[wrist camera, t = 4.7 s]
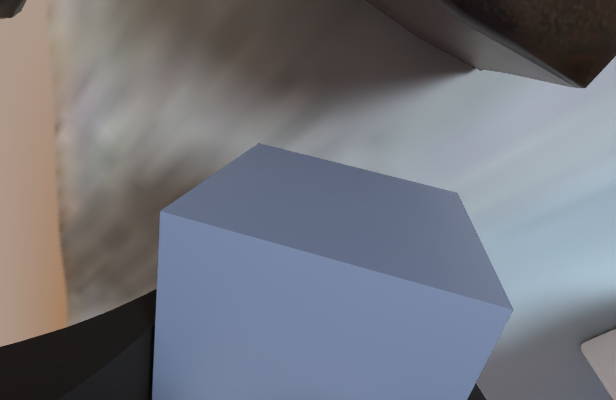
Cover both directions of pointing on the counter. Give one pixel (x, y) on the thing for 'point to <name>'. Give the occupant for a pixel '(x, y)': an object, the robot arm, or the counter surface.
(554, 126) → the counter surface
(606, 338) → the medicine bottle
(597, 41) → the dark brown boxy bottle
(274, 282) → the blue-gray rectangular block
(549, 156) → the counter surface
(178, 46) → the counter surface
